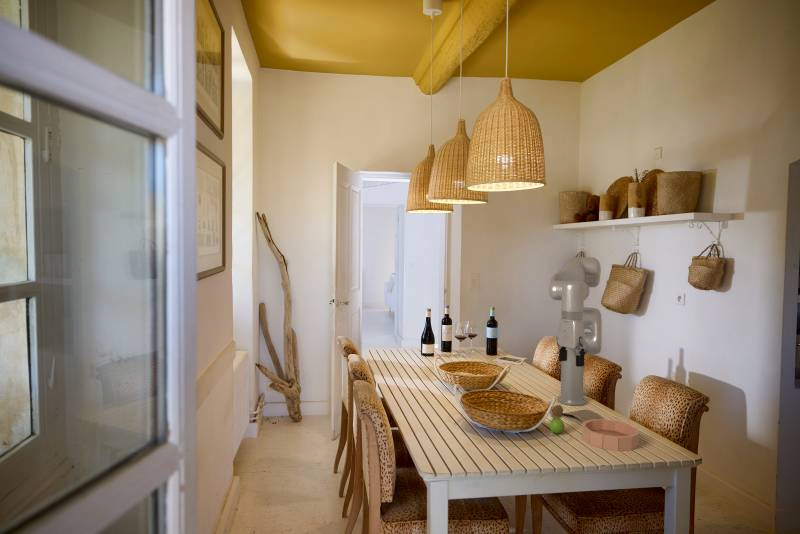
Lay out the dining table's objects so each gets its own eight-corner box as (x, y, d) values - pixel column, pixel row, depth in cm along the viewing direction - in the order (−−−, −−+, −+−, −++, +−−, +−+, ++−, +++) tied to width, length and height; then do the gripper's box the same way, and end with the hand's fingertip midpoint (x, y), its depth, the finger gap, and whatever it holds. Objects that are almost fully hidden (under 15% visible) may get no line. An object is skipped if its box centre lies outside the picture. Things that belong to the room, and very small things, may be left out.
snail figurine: (543, 431, 185) (544, 399, 185) (557, 429, 188) (558, 398, 187) (552, 436, 180) (553, 403, 180) (567, 434, 183) (568, 402, 182)
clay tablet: (608, 423, 197) (608, 416, 197) (588, 428, 191) (588, 420, 191) (575, 412, 211) (575, 405, 211) (556, 416, 205) (556, 408, 205)
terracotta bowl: (598, 427, 190) (598, 415, 190) (647, 442, 176) (647, 429, 176) (571, 438, 179) (572, 426, 179) (622, 455, 164) (622, 441, 164)
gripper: (549, 314, 188) (548, 359, 188) (578, 319, 171) (577, 369, 171) (566, 313, 190) (565, 358, 190) (597, 318, 173) (596, 368, 174)
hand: (571, 363), depth 181 cm, fingers open, 9 cm apart
